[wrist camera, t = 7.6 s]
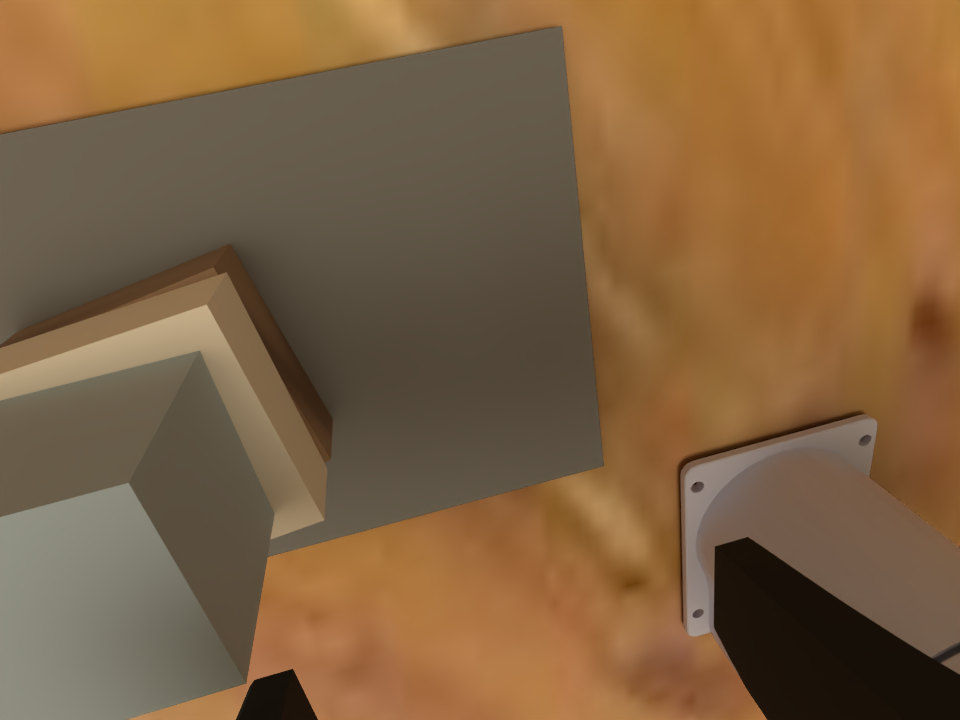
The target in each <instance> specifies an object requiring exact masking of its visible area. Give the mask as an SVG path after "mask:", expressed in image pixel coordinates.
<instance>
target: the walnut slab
mask: <svg viewBox="0 0 960 720" xmlns="http://www.w3.org/2000/svg"><path fill="white" fill-rule="evenodd" d="M226 272H227V274H228V276H229V278H230V280H231V282H232V284H233V286H234V287H235V289H236V291H237V293H238V295H239V297H240V299H241V301H242V303H243V305H244V307H245V309H246V311H247V313H248V315H249V317H250V319H251V321H252V323H253V324H254V326H255V328H256V330H257V332H258V334H259V336H260V338H261V340H262V342H263V344H264V346H265V348H266V350H267V352H268V354H269V356H270V358H271V360H272V361H273V363H274V365H275V367H276V369H277V371H278V373H279V375H280V377H281V379H282V381H283V383H284V385H285V387H286V389H287V391H288V393H289V395H290V397H291V398H292V400H293V402H294V404H295V406H296V408H297V410H298V412H299V414H300V416H301V418H302V420H303V422H304V424H305V426H306V428H307V430H308V432H309V434H310V435H311V437H312V439H313V441H314V443H315V445H316V447H317V449H318V451H319V453H320V455H321V457H322V459H323V461H324V463H325V462H327V461H330V460H331V451H332V429H333V419H332V417H331V415H330V413H329V412H328V410H327V408H326V407H325V405H324V403H323V402H322V400H321V398H320V396H319V395H318V393H317V391H316V390H315V388H314V386H313V384H312V383H311V381H310V379H309V378H308V376H307V374H306V372H305V371H304V369H303V367H302V366H301V364H300V362H299V360H298V359H297V357H296V355H295V354H294V352H293V350H292V348H291V347H290V345H289V343H288V342H287V340H286V338H285V336H284V335H283V333H282V331H281V330H280V328H279V326H278V324H277V323H276V321H275V319H274V318H273V316H272V314H271V312H270V311H269V309H268V307H267V306H266V304H265V302H264V300H263V299H262V297H261V295H260V294H259V292H258V290H257V288H256V287H255V285H254V283H253V282H252V280H251V278H250V276H249V275H248V273H247V271H246V270H245V268H244V266H243V264H242V263H241V261H240V259H239V258H238V256H237V254H236V252H235V251H234V249H233V247H232V246H231V244H228V245H225V246H223V247H221V248H218V249H216V250H213V251H211V252H208V253H206V254H204V255H201V256H199V257H196V258H194V259H192V260H189V261H187V262H184V263H182V264H179V265H177V266H175V267H172V268H170V269H167V270H165V271H163V272H160V273H158V274H155V275H153V276H150V277H148V278H146V279H143V280H141V281H138V282H136V283H134V284H131V285H129V286H126V287H124V288H122V289H119V290H117V291H114V292H112V293H109V294H107V295H105V296H102V297H100V298H97V299H95V300H93V301H90V302H88V303H85V304H83V305H80V306H78V307H76V308H73V309H71V310H68V311H66V312H64V313H61V314H59V315H56V316H54V317H51V318H49V319H47V320H44V321H42V322H39V323H37V324H35V325H32V326H30V327H27V328H25V329H23V330H20V331H18V332H16V333H15V334H14V335H12V336H11V337H10V338H9V339H7V340H6V341H5V342H3V343H2V344H1V345H0V348H2V347H5V346H8V345H11V344H14V343H17V342H20V341H23V340H26V339H29V338H32V337H35V336H38V335H41V334H44V333H47V332H50V331H53V330H56V329H59V328H62V327H65V326H68V325H71V324H74V323H77V322H80V321H83V320H86V319H89V318H92V317H95V316H98V315H101V314H104V313H107V312H110V311H113V310H116V309H118V308H121V307H124V306H127V305H130V304H133V303H136V302H139V301H142V300H145V299H148V298H151V297H154V296H157V295H160V294H163V293H166V292H169V291H172V290H175V289H178V288H181V287H184V286H187V285H190V284H193V283H196V282H199V281H202V280H205V279H208V278H211V277H214V276H217V275H220V274H223V273H226Z"/></svg>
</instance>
